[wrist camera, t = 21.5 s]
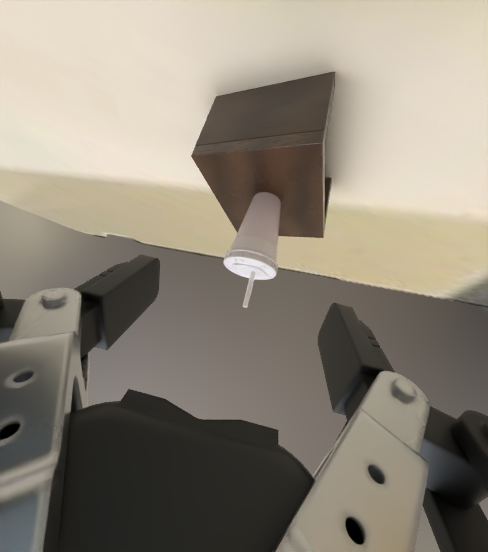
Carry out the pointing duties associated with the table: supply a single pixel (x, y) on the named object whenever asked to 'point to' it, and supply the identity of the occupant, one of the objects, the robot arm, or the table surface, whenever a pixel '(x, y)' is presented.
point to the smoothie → (256, 242)
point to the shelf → (271, 152)
